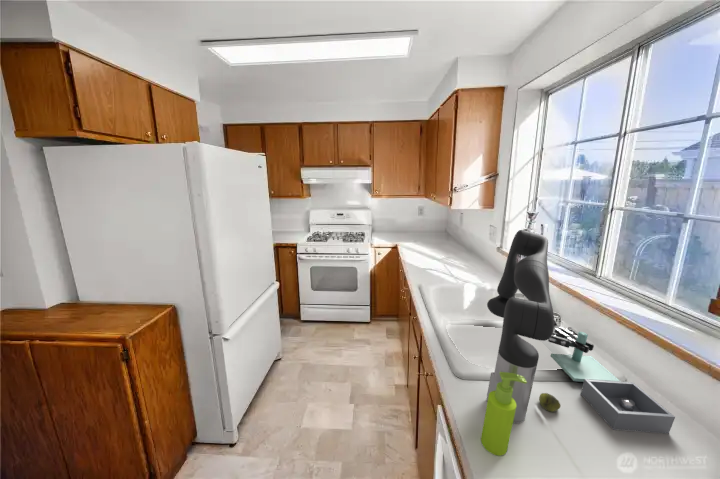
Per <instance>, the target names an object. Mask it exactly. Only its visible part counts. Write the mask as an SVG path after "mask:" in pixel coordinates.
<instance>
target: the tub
mask: <svg viewBox="0 0 720 479" xmlns="http://www.w3.org/2000/svg"><path fill="white" fill-rule="evenodd" d="M582 383H583V384H582V388H581V391H580V395H581V396H582V397H583V398H584V399H585V401H587V403H588V404H589V405H590V406H591V407H592V408H593V409H594V410H595V411H596V413H598V415H599V416H600V417H601V418H602V419H603V420H604V421H605V423H607V425H609V427H610V428H611V429H612V430H615V431H627V432H628V431H629V432H643V433H657V434H658V433H659V434H670V432H671V430H672V427H673V424H674V422H675V418H676V416H674V414H672V413H671V412H670V411H669V410H667V409H666V408H665V407H664V406H662V405H661V404H660V403H659V402H658V401H656V400H655V399H654V398H653V397H652V396H651V395H649V394H648V393H647V392H646V391H645V390H643V389H642V388H641V387H639V386H638V385H637V384H636V383H635V382H634V381H621V380H620V381H605V380H589V379H585V380H584V382H582ZM621 397H626V398H629V399H631V400H632V401H634V403H635V407H634V410H633V411H628V410H625V409H623V408H622V407H621V406H620V405H619V403H620V400H621ZM617 408H619V409H621V410H622V411H619V410H618V409H617Z"/></svg>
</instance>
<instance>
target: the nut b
mask: <svg viewBox="0 0 720 479" xmlns="http://www.w3.org/2000/svg"><path fill="white" fill-rule="evenodd" d="M619 405H620V406H621V407H622V408H623V409H625V410H628V411H633V410H634V407H635V403H634V401H632V400H631V399H629V398H626V397H621V400H620V403H619Z"/></svg>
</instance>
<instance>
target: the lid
mask: <svg viewBox="0 0 720 479" xmlns="http://www.w3.org/2000/svg"><path fill="white" fill-rule="evenodd" d="M577 332H578V336H577V340H576V341H578V342H580V343H582V344H584V345H585V344H586V341H587V340H588V334H587V333H586V332H584V331H577ZM573 348H574V349H573V352H572V354H563V353H562V354H560V353H550V357H551V358H552V359H553V361H554V362H555V363H556V364H557V365H558V366H559V367H560V368H561V369H562V370H563V371H564V372H565V373H566V374H567V376H568V377H569V378H570V379H571V380H572V381H573V382H580V383H581V382H582V383H584V380H585V379H589V380H605V381H621V379H619V378H617V376H615V374H613V373H612V372H611V371H609V370H608V369H607V368H606V367H605V366H604V365H603V364H601V363H600V362H599V361H598V360H597V359H595V358H594V357H593V356H591V355H583V354H584V352H583V351H581V350H579V349H577V348H575V347H573Z"/></svg>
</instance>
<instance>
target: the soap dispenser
mask: <svg viewBox="0 0 720 479" xmlns="http://www.w3.org/2000/svg"><path fill="white" fill-rule="evenodd" d="M499 374H500V377H501V379H502V382H499V383H497V386H496V391H491V392H490V393H489V396H488V402H487V401H486V402H487V403H486V408H485V415H484V418H483V419H484V420H483V424H482V431H481V436H480V441H481V445H482V446H483V448H484V449H485V450H486V451H487V452H488V453H490V454H492V455H494V456H498V457H501V456H504V455H506V454H507V452H508V448H509V443H510V439H511V433H512V430H513V425H514V423H513V420H514V415H515V411H516V402H515V400H514V399H513V398H512V393H513V389H512V387H511V386H510V381H517V382H521V383H524V384H526V383H527V381H526V379H525V377H523V376H521V375H518V374H514V373H508V372H500V373H499Z"/></svg>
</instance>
